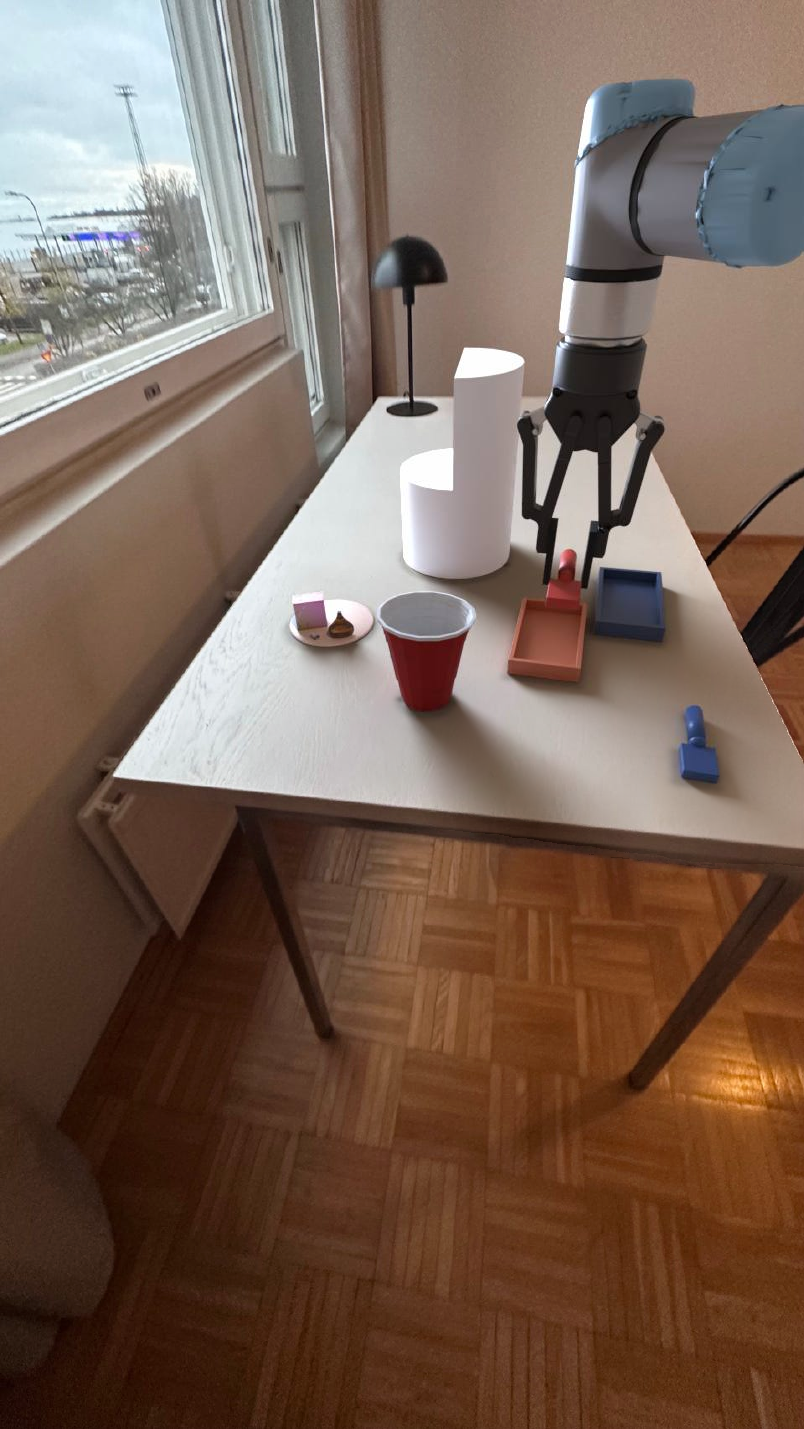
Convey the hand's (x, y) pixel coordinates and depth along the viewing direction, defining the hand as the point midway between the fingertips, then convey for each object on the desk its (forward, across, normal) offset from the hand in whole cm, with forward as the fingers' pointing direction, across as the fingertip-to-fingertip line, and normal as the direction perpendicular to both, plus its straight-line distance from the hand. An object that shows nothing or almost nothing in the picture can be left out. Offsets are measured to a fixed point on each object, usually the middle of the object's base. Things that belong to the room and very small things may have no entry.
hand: (565, 580), depth 69 cm
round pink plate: (+13, +31, -6) cm, 34 cm away
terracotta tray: (+13, +1, -7) cm, 15 cm away
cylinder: (+14, +18, -30) cm, 37 cm away
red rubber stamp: (0, 0, 0) cm, 0 cm away
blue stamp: (+13, -16, +9) cm, 23 cm away
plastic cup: (+13, +14, +7) cm, 21 cm away
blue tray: (+13, -9, -18) cm, 24 cm away
